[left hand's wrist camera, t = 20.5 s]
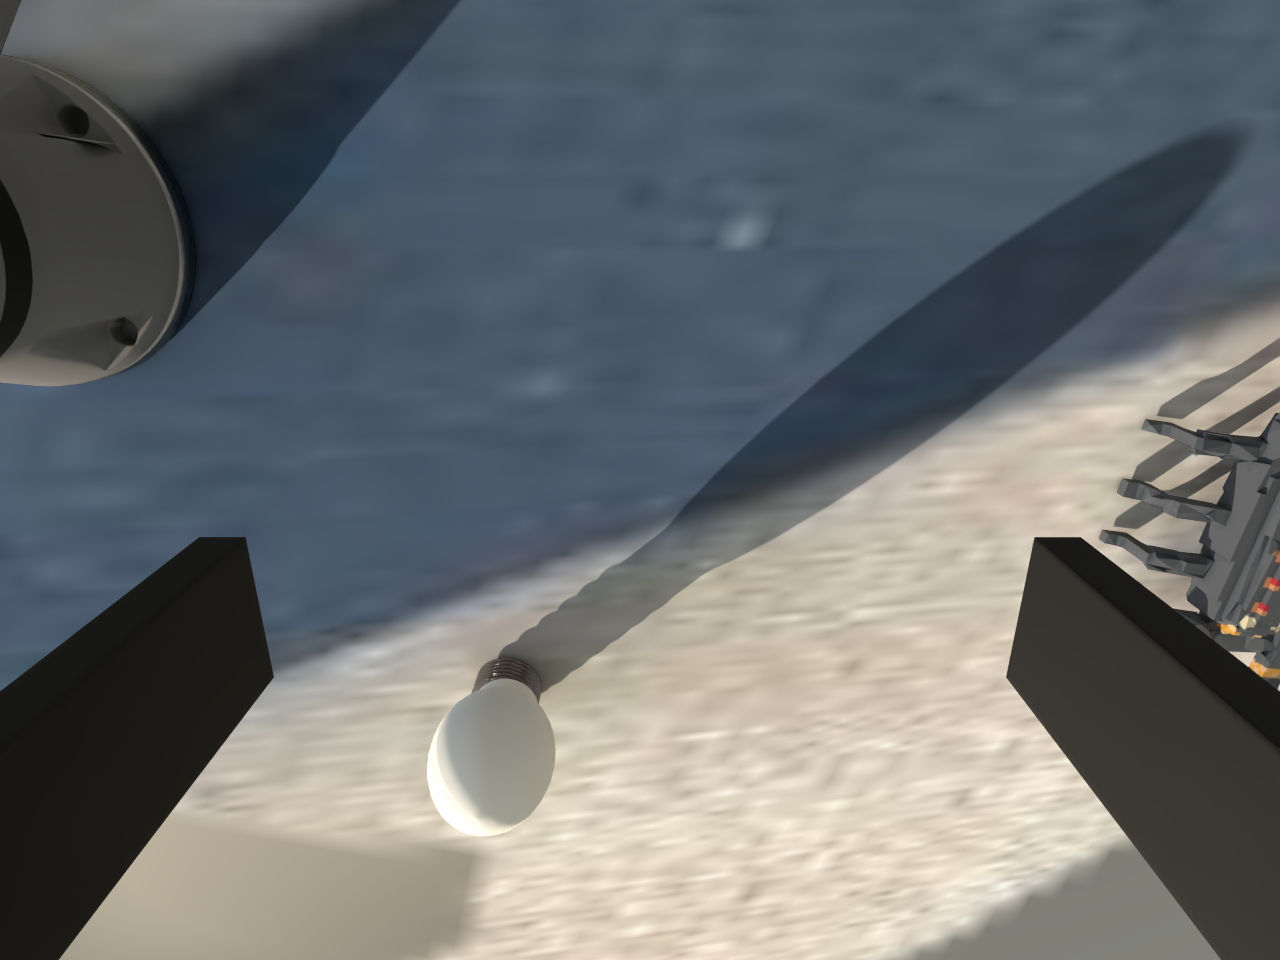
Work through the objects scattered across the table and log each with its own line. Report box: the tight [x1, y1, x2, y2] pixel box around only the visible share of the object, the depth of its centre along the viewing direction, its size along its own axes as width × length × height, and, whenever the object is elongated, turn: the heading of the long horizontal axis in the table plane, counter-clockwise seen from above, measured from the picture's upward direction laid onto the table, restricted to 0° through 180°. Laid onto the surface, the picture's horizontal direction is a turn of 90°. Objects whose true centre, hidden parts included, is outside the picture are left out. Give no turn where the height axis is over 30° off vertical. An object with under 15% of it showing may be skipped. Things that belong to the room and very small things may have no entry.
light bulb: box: [427, 658, 555, 836], centre depth 42 cm, size 7×7×11 cm
